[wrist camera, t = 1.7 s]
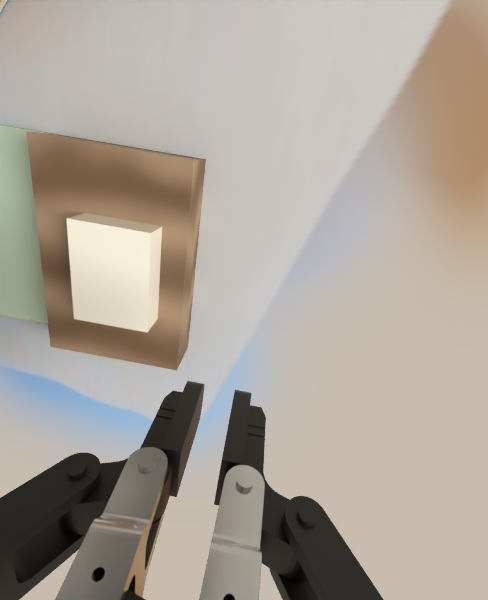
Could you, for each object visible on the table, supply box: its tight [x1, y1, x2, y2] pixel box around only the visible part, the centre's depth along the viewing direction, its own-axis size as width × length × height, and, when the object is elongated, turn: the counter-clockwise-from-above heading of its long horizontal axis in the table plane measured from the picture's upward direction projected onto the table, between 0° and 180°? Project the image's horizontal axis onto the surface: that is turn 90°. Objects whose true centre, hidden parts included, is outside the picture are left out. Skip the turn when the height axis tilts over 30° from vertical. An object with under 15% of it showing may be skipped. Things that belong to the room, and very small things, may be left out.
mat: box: [0, 125, 57, 324], centre depth 30 cm, size 18×11×1 cm, turn 171°
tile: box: [66, 213, 162, 332], centre depth 25 cm, size 8×6×2 cm
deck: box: [26, 131, 206, 370], centre depth 28 cm, size 18×12×4 cm, turn 171°
